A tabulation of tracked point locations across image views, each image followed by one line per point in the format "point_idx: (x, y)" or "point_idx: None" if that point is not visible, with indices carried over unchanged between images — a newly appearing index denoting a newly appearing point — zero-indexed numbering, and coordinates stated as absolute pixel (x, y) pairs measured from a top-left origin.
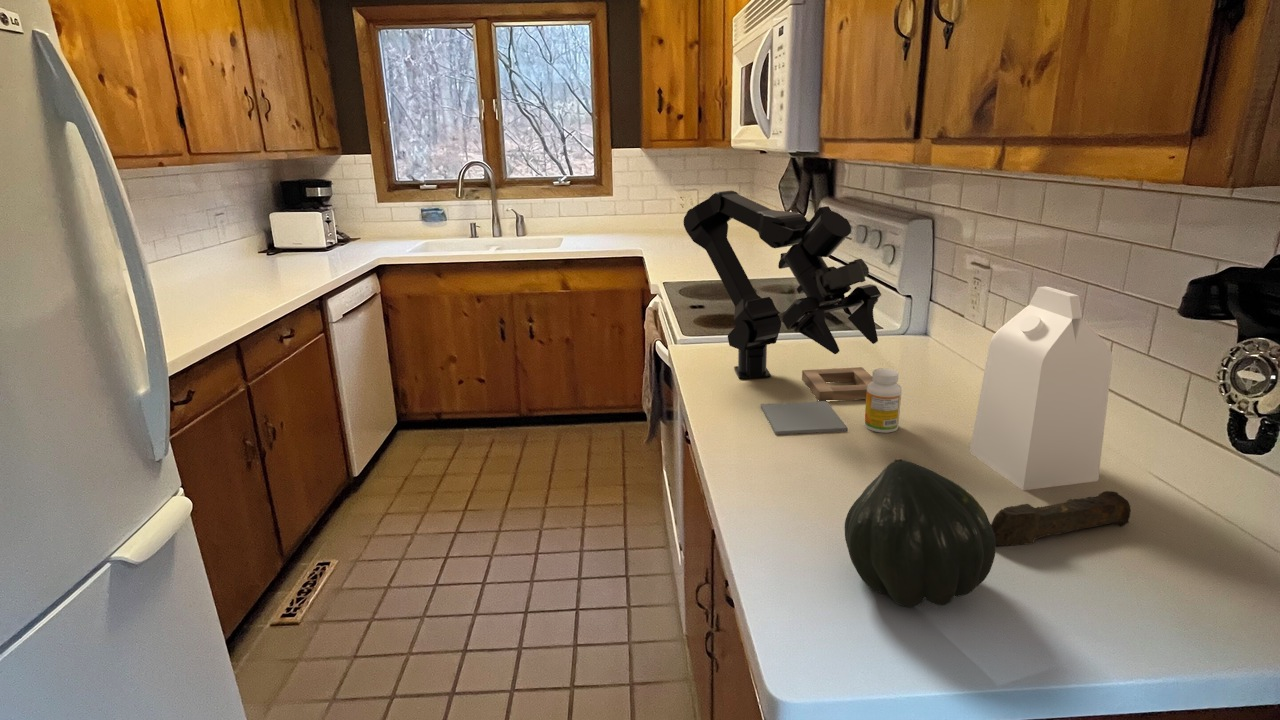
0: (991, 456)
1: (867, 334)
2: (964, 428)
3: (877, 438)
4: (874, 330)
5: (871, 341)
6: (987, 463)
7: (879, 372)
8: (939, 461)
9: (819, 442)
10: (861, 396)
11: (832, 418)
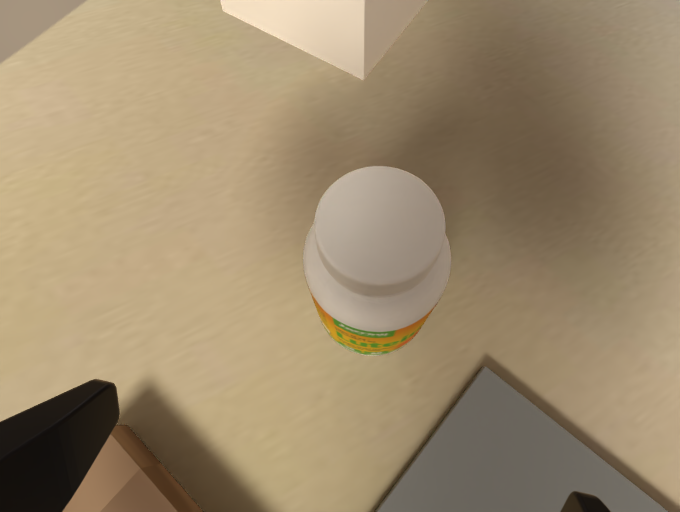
0: (405, 7)
1: (43, 502)
2: (228, 139)
3: (457, 269)
4: (8, 432)
5: (101, 438)
6: (399, 32)
7: (407, 240)
8: (461, 102)
9: (630, 389)
10: (180, 493)
11: (458, 457)
